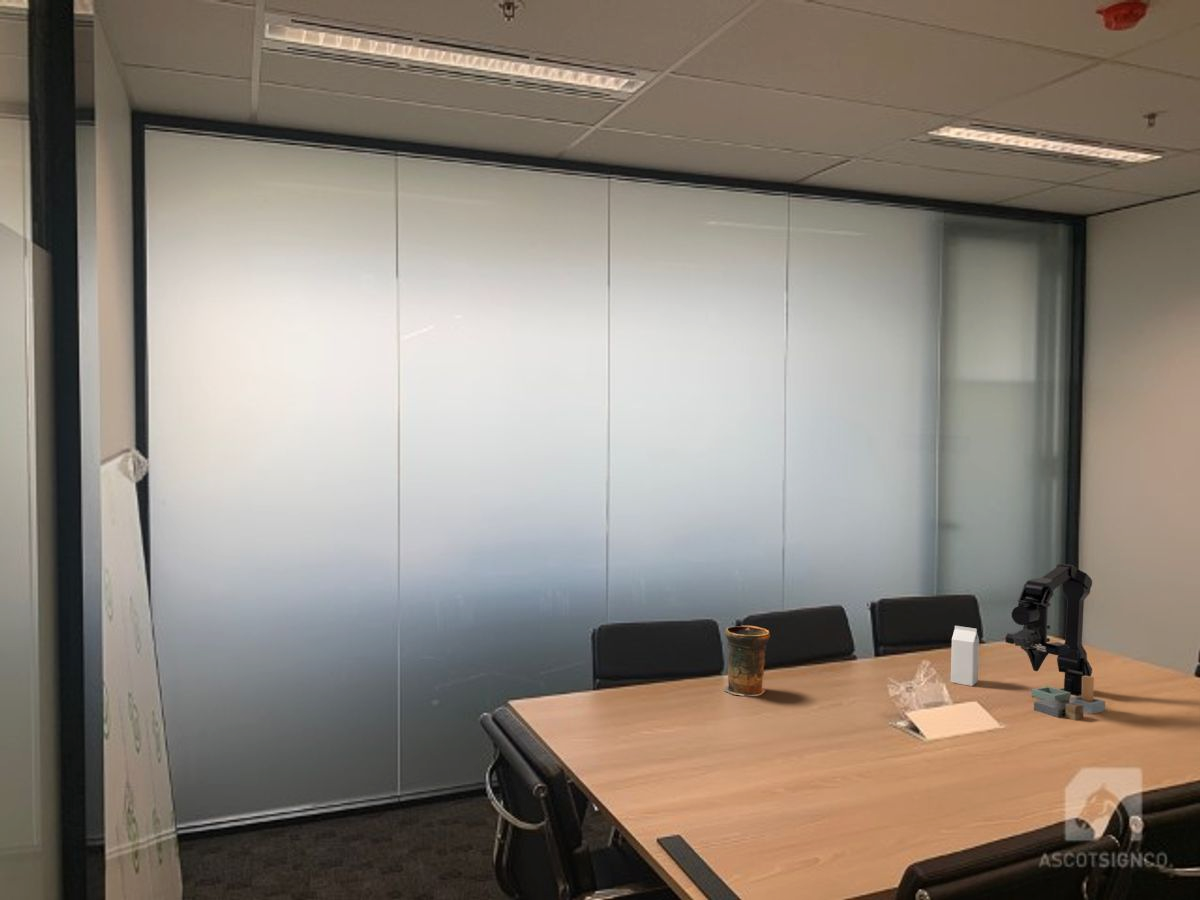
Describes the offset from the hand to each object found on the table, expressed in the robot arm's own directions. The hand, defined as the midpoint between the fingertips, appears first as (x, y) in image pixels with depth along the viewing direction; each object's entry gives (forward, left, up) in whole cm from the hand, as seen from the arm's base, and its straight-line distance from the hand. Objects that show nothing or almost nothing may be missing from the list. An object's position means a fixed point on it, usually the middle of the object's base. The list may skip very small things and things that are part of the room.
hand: (1035, 670), depth 272 cm
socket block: (-12, +10, -11) cm, 19 cm away
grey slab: (+1, +7, -11) cm, 13 cm away
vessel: (+73, -51, -11) cm, 90 cm away
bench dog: (0, +13, -11) cm, 17 cm away
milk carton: (-2, -27, -11) cm, 30 cm away
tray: (-12, -2, -11) cm, 16 cm away
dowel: (-12, +10, -11) cm, 19 cm away
